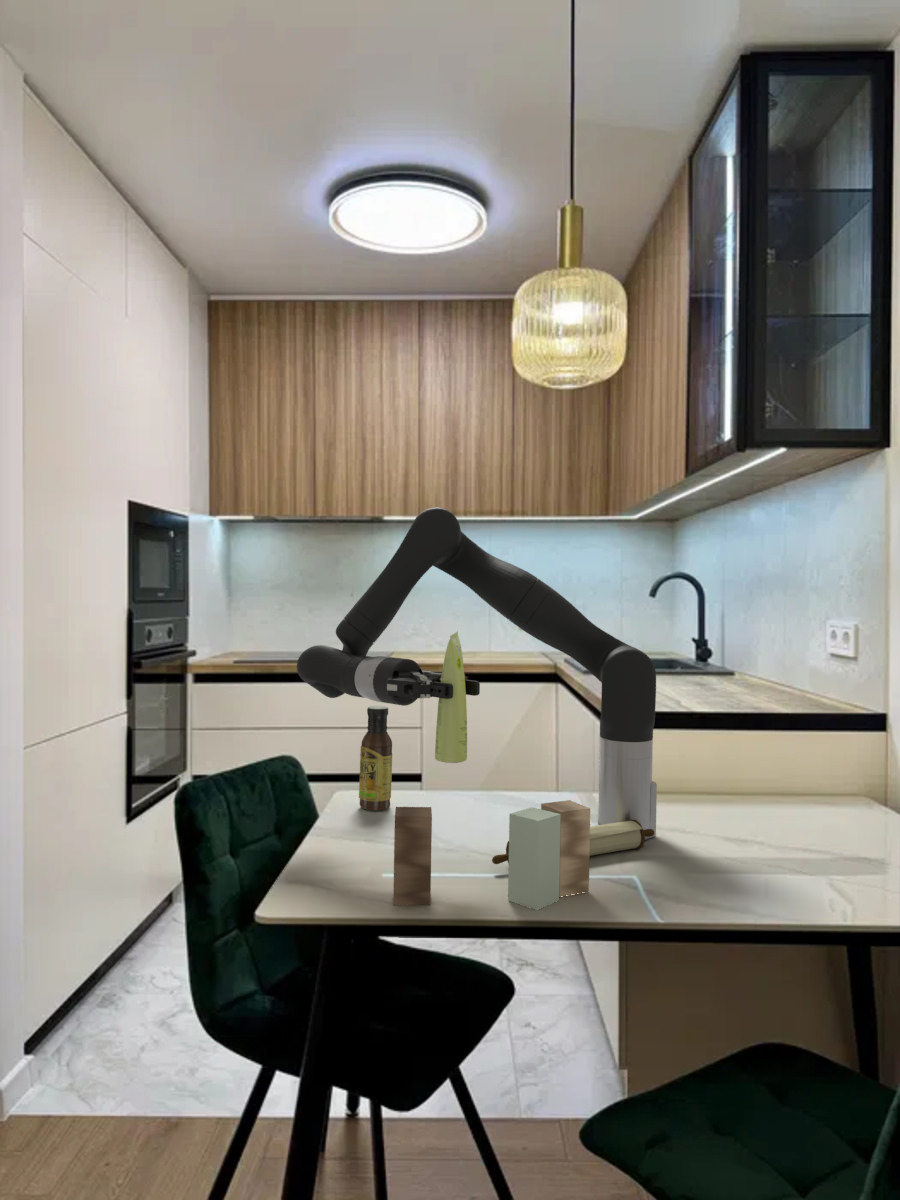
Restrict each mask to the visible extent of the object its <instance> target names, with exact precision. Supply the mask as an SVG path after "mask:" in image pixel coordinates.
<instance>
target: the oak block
mask: <svg viewBox="0 0 900 1200" xmlns="http://www.w3.org/2000/svg"><path fill="white" fill-rule="evenodd" d="M540 809H541V810H545V811H550V812H554V813H558V814H561V820H560V875H559V897H561V896H566V895H571V894H577V893H582V892H588V891H589V892H590V890H589V889H590V856H589V852H590V827H591V807H588V806H585V805H583V804H580V803H578V802H575V801H573V800H570V799H569V800H568V799H567V800H560V801H553V802H542V803H541V804H540Z"/></svg>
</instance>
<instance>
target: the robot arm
mask: <svg viewBox="0 0 900 1200" xmlns="http://www.w3.org/2000/svg"><path fill="white" fill-rule="evenodd" d="M461 529H462V528H461V524H460V523H459V520H458V518H457V517H456V515H455V514H454V513H453V512H451V511H449V510H448V509H446V508H443V507H431V508H427V509H425V510H423V511H421V512H420V513H419V514H417V516H416V517H415V519H413V522H412V524H411V526H410V527H409V529H408V531H407V533H406V535H405V536H404V537H403V540H402V541H401V543H400V545H399V546H398V548H397V550H396V552H395V553H394V554H393V556H392V557H391V558H390V560H389V561H388V564H386V566H385V567H384V568H383V570H382V571H381V573H380V574H379V575H378V576H377V577H376V579H375V580H374V581H373V583H372V584H371V585H370V586H369V587H368V588H367V589H366V591H365V592H364V593H363V595H361V597H360V598H359V599H358V600H357V602H356V603H354V605H353V607H352V608H351V609H350V610H349V611H348V612H347V614H345V616H344V617H343V618H342V619H341V621H340V623H339V624H338V625H337V627H336V628H335V635H336V637H337V638H338V639H339V641H340V642H341V644H342V649H339V648H336V647H333V646H330V645H324V644H318V645H313V646H310V647H308V648H307V649H305V650H304V651H303V652H302V653H301V654H300V655H299V656H298V659H297V663H296V672H297V674H298V676H299V678H300V680H301V679H302V681H303V682H305V683H306V684H308V685H309V686H311V687H312V688H313V689H315V690H316V691H318V692H319V693H320V694H322V695H323V696H325V697H327V698H329V699H336V698H340V697H341V696H343V695H344V694H346V695H349V696H350V697H351V696H352V697H357V698H362V699H363V698H365V699H368V700H370V701H374V702H376V703H377V702H378V703H384V704H391V705H397V706H402V707H403V706H406V707H407V706H409V705H412V704H413V703H415V702H416V701H417V700H418V699H430V698H438V699H439V698H444V699H451V698H453V685H452V684H449V683H441V677H442V672H441V673H440V672H434V671H432V670H431V671H430V670H422V668H421V666H420V665H419V664H418V663H417V662H416V661H415V660H413V659H410V658H402V657H391V656H381V655H379V656H368V655H367V654H368V652H369V651H370V649H371V647H372V646H373V645H374V644H375V643H376V641H377V640H378V639H379V638H380V637H381V635H382V634H383V633H384V632H385V630H386V629H387V628H388V627H389V625H390V623H391V622H392V621H393V619H394V618H395V617H396V615H397V614H398V612H399V611H400V609H401V607H402V605H403V603H404V602H405V601H406V599H407V597H408V596H409V595H410V593H411V592H412V590H413V589H414V587H415V586H416V585H417V583H419V581H420V580H421V579H422V578H423V576H424V575H425V574H426V573H427V572H428V571H429V570H430V569H431V568H432V567H435V568H437V569H438V570H440V571H442V572H444V573H445V574H447V575H449V576H451V577H452V578H454V579H455V580H458V581H459V582H461V583H462V584H463V585H465V586H467V587H468V588H469V589H470V590H471V591H472V592H474V593H475V595H477V596H478V597H479V598H480V599H482V600H483V601H484V602H486V604H487V605H489V606H490V607H492V608H493V609H494V610H495V611H496V612H497V613H499V614H500V615H502V616H503V617H504V618H505V619H507V620H508V621H510V622H511V623H512V624H513V625H515V626H517V627H518V628H520V630H522V631H524V632H525V633H526V634H528V635H530V636H532V637H533V638H535V639H537V640H538V641H540V642H541V643H543V644H545V645H547V646H549V647H551V648H553V649H555V650H558V651H559V652H561V653H564V654H566V655H567V656H568V657H570V658H571V659H573V660H574V661H576V662H577V663H579V665H580V666H582V667H583V668H585V669H586V670H587V671H588V672H589V673H590V674H592V675H593V676H594V677H595V678H596V679H597V680H598V681H599V682H600V683H601V699H600V700H601V704H600V705H601V706H600V708H601V709H600V710H601V711H600V719H599V745H598V746H599V753H598V755H599V756H598V757H599V758H598V759H599V762H598V763H599V765H598V766H599V767H598V804H597V805H598V806H597V807H598V808H597V812H598V813H597V814H598V815H597V817H598V818H597V825H603V824H610V823H617V822H624V821H628V820H637V821H638V822H639V823H640V824H641V826H642V828H643V830H646V829H653V830H654V835H653V836H651V837H645V841H647V840H649V839H651V838H656V836H657V805H658V804H657V802H658V800H657V799H658V797H657V796H658V790H657V789H658V786H657V785H658V783H656V781H653V755H654V754H653V750H654V749H653V748H654V747H653V745H654V740H653V739H654V727H655V722H656V702H657V701H656V700H657V699H656V698H657V672H656V671H657V670H656V668H655V664H654V662H653V660H652V659H651V658H650V656H648V655H647V654H646V653H645V652H644V651H642V650H641V649H638V648H636V647H634V646H631V645H629V644H627V643H625V642H624V641H622V640H620V639H619V638H616V637H615V636H613V635H611V634H610V633H608V632H606V631H604V630H602V628H600V627H598V626H597V625H596V624H594V623H593V622H591V620H589V619H588V618H587V617H586V616H585V615H584V614H583V613H582V612H580V611H579V609H578V608H576V606H574V605H573V604H572V603H571V602H570V601H569V600H567V599H566V598H565V597H564V596H563V595H562V594H560V593H559V592H557V591H556V590H555V589H554V588H553V587H551V586H549V585H548V584H547V583H545V582H544V581H542V580H541V579H540V578H538V577H537V576H536V575H534V574H532V573H530V572H529V571H526V570H525V569H523V568H521V567H519V566H516V565H514V564H512V563H511V562H510V563H509V562H507V561H505V560H502V559H500V558H498V557H496V556H494V555H492V554H490V553H489V552H488V551H485V550H484V549H483V548H482V547H480V546H479V545H478V544H477V543H475V542H474V541H473V540H471V539H470V538H469V537H468V536H467V535H466V534H465V533H464V532H463V531H462V530H461ZM480 685H481V684H480V682H479V681H478V680H471V679H469V678H468V676H465V687H466V696H473V697H474V696H479V695H480V693H481V692H480V689H481V688H480V687H481V686H480Z"/></svg>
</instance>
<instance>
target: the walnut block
mask: <svg viewBox="0 0 900 1200" xmlns="http://www.w3.org/2000/svg"><path fill="white" fill-rule="evenodd" d="M432 811H433V810H432V806H395V810H394V831H393V832H394V837H393V838H394V841H393V843H394V844H393V845H394V847H393V889H392V891H393V892H392V893H393V898H392V901H393V902H392V904H393V906H431V894H432V893H431V891H432V887H431V886H432V882H431V880H432V838H433V837H432V833H433V831H432V830H433V828H432V827H433V824H432V823H433V822H432V821H433V817H432V816H433V814H432Z"/></svg>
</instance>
